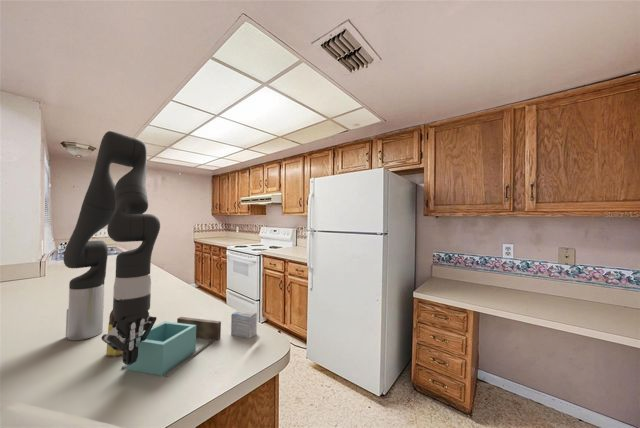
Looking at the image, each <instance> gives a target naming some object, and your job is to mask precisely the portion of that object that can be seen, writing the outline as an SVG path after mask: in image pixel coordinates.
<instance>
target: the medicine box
mask: <svg viewBox="0 0 640 428" xmlns="http://www.w3.org/2000/svg"><path fill="white" fill-rule="evenodd" d="M257 316H258V315H257V312H254V311H248V310H242V309H239V310H237V311H234V312H233V313H231V317H230V318H231V321H230V322H231V324H230V335H231V336H237V337H241V338H246V339H251V338H252V337H254V336H255V335H257V327H258V326H257V325H258V324H257V319H258V318H257Z"/></svg>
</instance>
